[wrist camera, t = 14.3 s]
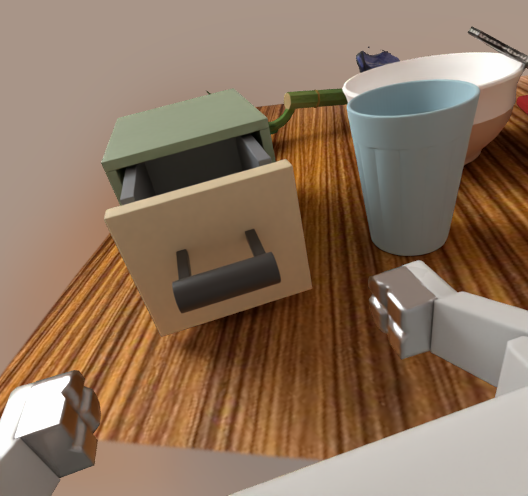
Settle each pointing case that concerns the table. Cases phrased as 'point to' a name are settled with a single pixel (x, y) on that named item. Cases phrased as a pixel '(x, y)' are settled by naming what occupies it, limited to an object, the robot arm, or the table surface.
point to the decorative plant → (306, 103)
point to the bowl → (456, 68)
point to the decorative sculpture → (499, 46)
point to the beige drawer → (210, 232)
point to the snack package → (374, 60)
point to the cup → (412, 159)
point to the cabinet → (181, 131)
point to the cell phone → (523, 103)
